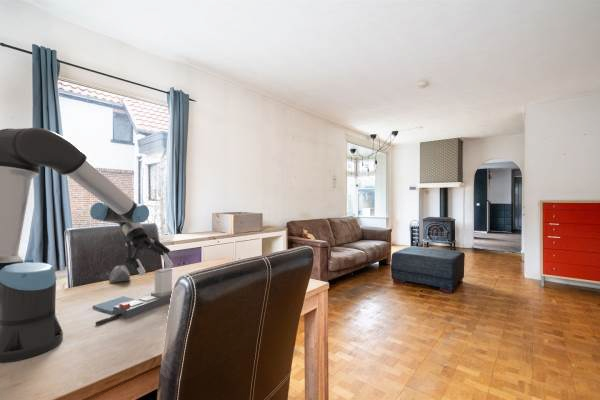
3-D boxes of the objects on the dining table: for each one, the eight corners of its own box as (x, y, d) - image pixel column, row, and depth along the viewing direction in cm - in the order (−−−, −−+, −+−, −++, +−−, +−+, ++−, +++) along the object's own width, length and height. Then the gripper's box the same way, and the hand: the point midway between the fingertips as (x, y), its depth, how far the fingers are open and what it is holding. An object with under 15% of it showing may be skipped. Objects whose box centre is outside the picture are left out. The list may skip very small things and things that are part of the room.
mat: (111, 314, 106) (111, 311, 106) (92, 308, 111) (92, 305, 111) (142, 303, 117) (142, 301, 117) (123, 298, 122) (123, 296, 122)
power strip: (103, 327, 95) (103, 315, 95) (89, 323, 98) (89, 310, 98) (181, 297, 124) (181, 288, 123) (168, 295, 127) (168, 285, 127)
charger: (161, 296, 117) (161, 271, 117) (154, 294, 118) (154, 270, 118) (171, 292, 121) (171, 268, 121) (165, 291, 123) (165, 267, 123)
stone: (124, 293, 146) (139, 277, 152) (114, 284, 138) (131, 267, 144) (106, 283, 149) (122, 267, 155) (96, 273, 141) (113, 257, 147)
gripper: (155, 234, 142) (177, 268, 136) (102, 241, 119) (125, 282, 113) (163, 224, 139) (185, 258, 133) (110, 229, 117) (134, 271, 111)
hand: (157, 269), depth 123 cm, fingers open, 13 cm apart
